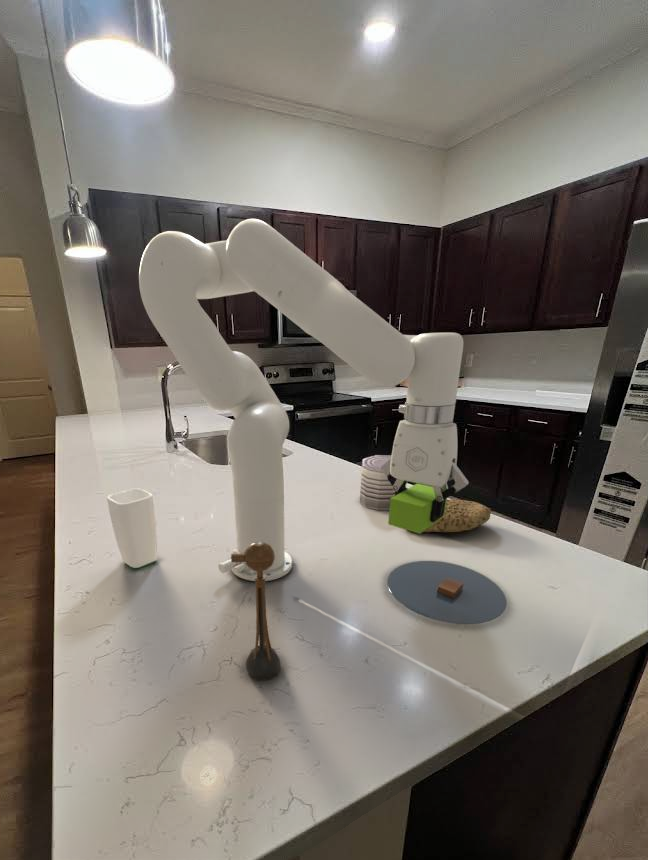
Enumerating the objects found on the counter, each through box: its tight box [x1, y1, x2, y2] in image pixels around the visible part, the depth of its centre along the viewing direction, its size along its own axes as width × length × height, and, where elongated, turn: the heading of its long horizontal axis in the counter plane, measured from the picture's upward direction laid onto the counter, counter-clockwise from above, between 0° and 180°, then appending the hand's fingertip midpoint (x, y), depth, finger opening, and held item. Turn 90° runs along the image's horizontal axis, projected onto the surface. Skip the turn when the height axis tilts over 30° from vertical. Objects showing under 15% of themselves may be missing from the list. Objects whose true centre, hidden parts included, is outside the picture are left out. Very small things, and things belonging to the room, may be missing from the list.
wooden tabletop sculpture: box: [230, 542, 281, 681], centre depth 55 cm, size 6×5×20 cm
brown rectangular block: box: [437, 578, 463, 598], centre depth 75 cm, size 4×3×1 cm
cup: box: [106, 487, 158, 569], centre depth 85 cm, size 7×7×15 cm
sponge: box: [407, 498, 492, 533], centre depth 99 cm, size 13×8×20 cm
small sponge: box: [387, 483, 448, 534], centre depth 75 cm, size 10×6×5 cm, turn 136°
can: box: [359, 454, 395, 511], centre depth 113 cm, size 11×11×12 cm
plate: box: [386, 560, 507, 625], centre depth 76 cm, size 20×20×1 cm
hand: (417, 513), depth 76 cm, fingers closed on small sponge, 6 cm apart
